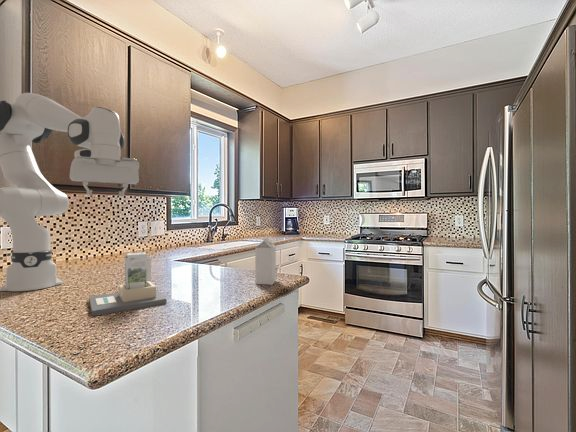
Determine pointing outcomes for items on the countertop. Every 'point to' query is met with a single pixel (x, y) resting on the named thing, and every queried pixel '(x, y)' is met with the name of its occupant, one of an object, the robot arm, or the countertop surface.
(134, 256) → the syrup box
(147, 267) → the mug
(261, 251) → the milk carton
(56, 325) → the countertop surface
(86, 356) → the countertop surface
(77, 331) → the countertop surface
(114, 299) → the holder board
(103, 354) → the countertop surface
